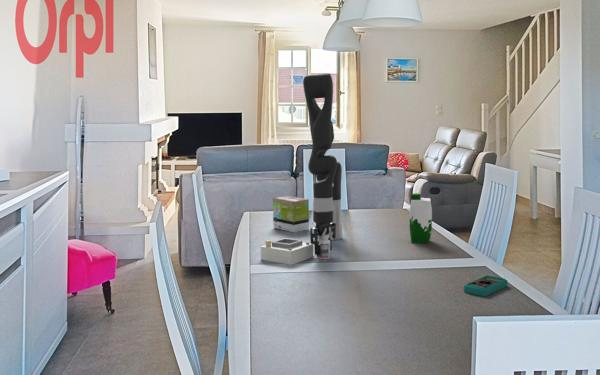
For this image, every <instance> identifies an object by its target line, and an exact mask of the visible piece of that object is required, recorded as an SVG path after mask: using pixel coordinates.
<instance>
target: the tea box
mask: <svg viewBox="0 0 600 375" xmlns="http://www.w3.org/2000/svg"><path fill="white" fill-rule="evenodd" d="M309 200H310V199H308V198H303V197H296V196H290V195H286V196H279V197H272V213H273V214H272V216H273V218H272V221H273V228H274V229H278V230H283V231H286V232H290V233H293V232H295V233H298V231H300V232H304V231H303V230H305V231H308V230H310V210H309V209H310V203H309V202H310V201H309Z"/></svg>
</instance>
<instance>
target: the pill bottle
mask: <svg viewBox="0 0 600 375" xmlns="http://www.w3.org/2000/svg"><path fill="white" fill-rule="evenodd" d="M319 237H320V236H319ZM328 238H329V234H327V235H324V238H323V240H322V241H321V244H320V245H321V254H320V255H316V258H317V259H319V260H329V259H330V258H331V257H332V256H331V254H332V253H331V243H330V240H328ZM318 241H319V239H318Z"/></svg>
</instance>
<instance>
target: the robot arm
mask: <svg viewBox="0 0 600 375" xmlns="http://www.w3.org/2000/svg"><path fill="white" fill-rule="evenodd" d="M302 81H303V82H302V83H303V85H302V86H303V92H304V97H305V101H306V106H307V111H308V118H309V128H310V129H309V130H310V136H311V143H312V148H311V153H310V157H309V160H308V165H307V166H308V170H309V173H310V174H312V175H313V176H314V175H315V178H316V181H314V182H313V201H312V220H313V221H312V222H314V223H315V227H310V228H309V230H310V231H309V233H310V234H309V236H310V237H309V238H310V244H313V247H314V255H316V256H317V255H320V254H321V245H320V244H321V241H322V240H323V238H324V235H327V234H329V238H328V240H330V243H331V251H333V241H337V240H338V241H339V240H341V239H342V237H343V224H342V223H343V219H342V218H343V216H342V172H343V170H342V165H341V163H340V162H339V161H338V160H337V157H335V156H334V155H326V153H327V151H328V150H330V149H331V148H332V144H333V142H334V141H335V130H334V124H333V121H332V114H333V100H334V99H333V97H334V82H333V77H332V75H331V73H327V72H325V73H324V72H323V73H322V72H321V73H311V74H306V75H305V76H304V77H303V80H302ZM317 99H324V101H323V105H322V107H321V106H319V104H318V103H317V101H316V100H317ZM319 236H320V237H319ZM318 240H319V241H318Z"/></svg>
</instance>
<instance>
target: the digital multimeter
mask: <svg viewBox="0 0 600 375" xmlns="http://www.w3.org/2000/svg"><path fill="white" fill-rule="evenodd" d="M507 286H508V280H507V279H506V278H503V277H499V276H494V275H489V274H488V275H484V276H482V277H480V278H478V279H476V280H473V281H471V282H468V283H466V284H465V285H463V292H464V293H467V294H471V295H475V296H481V297H488V296H490V295H491V294H493V293H495V292H497V291H499V290H500V291H501V290H503V289H504V288H506V287H507Z"/></svg>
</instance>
